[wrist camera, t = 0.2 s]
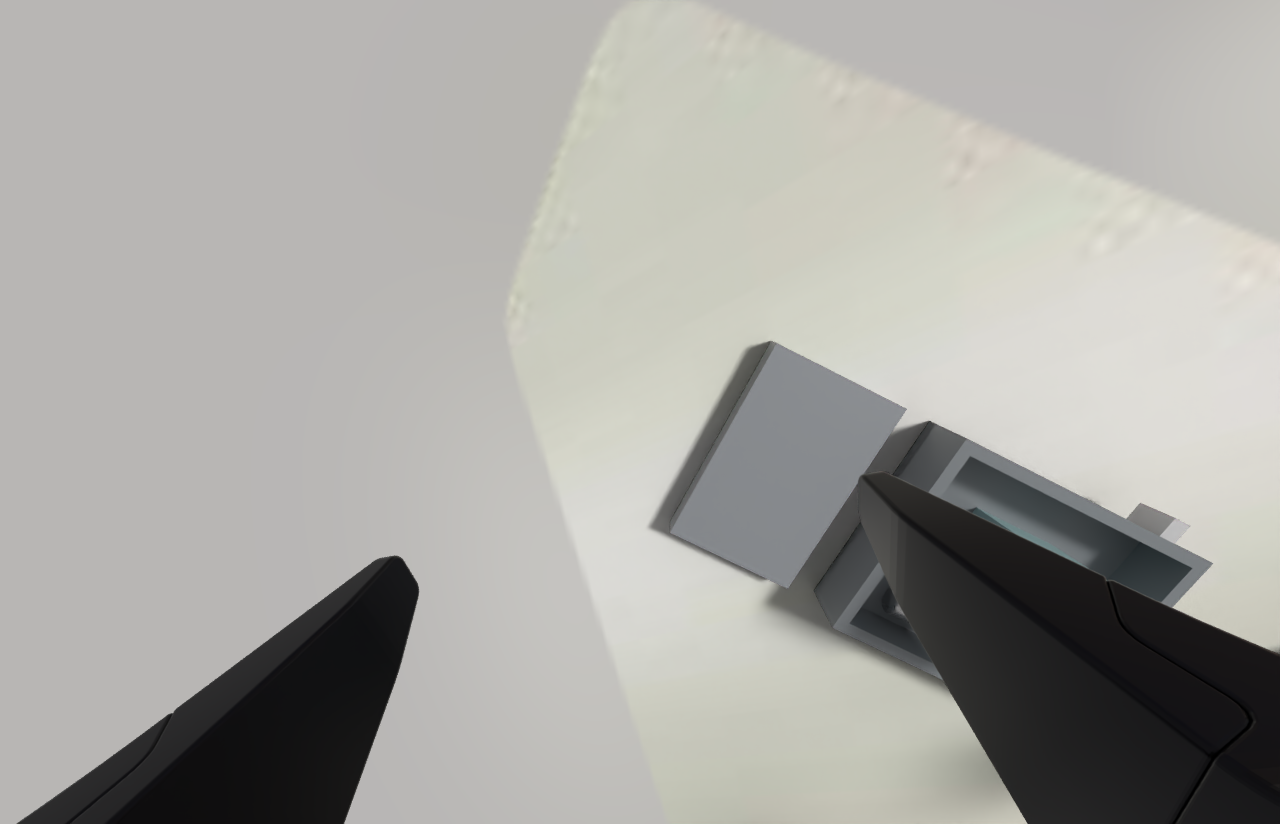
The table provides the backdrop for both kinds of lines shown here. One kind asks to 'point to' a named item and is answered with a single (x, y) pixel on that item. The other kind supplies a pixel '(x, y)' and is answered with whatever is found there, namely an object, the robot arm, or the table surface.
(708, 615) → the table surface
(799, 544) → the lid panel
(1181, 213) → the table surface
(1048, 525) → the case
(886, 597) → the rod
